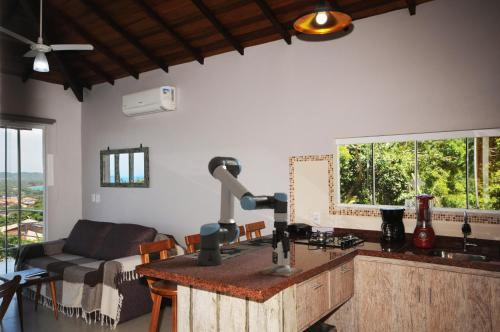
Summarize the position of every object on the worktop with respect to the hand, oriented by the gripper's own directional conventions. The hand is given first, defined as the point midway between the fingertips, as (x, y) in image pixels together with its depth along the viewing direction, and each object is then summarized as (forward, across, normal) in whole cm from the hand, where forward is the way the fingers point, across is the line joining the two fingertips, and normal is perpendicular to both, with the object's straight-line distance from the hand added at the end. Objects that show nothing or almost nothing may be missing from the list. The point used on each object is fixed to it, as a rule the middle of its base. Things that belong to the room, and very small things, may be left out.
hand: (280, 262), depth 200 cm
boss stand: (+5, 0, 0) cm, 5 cm away
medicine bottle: (+1, 0, 0) cm, 1 cm away
